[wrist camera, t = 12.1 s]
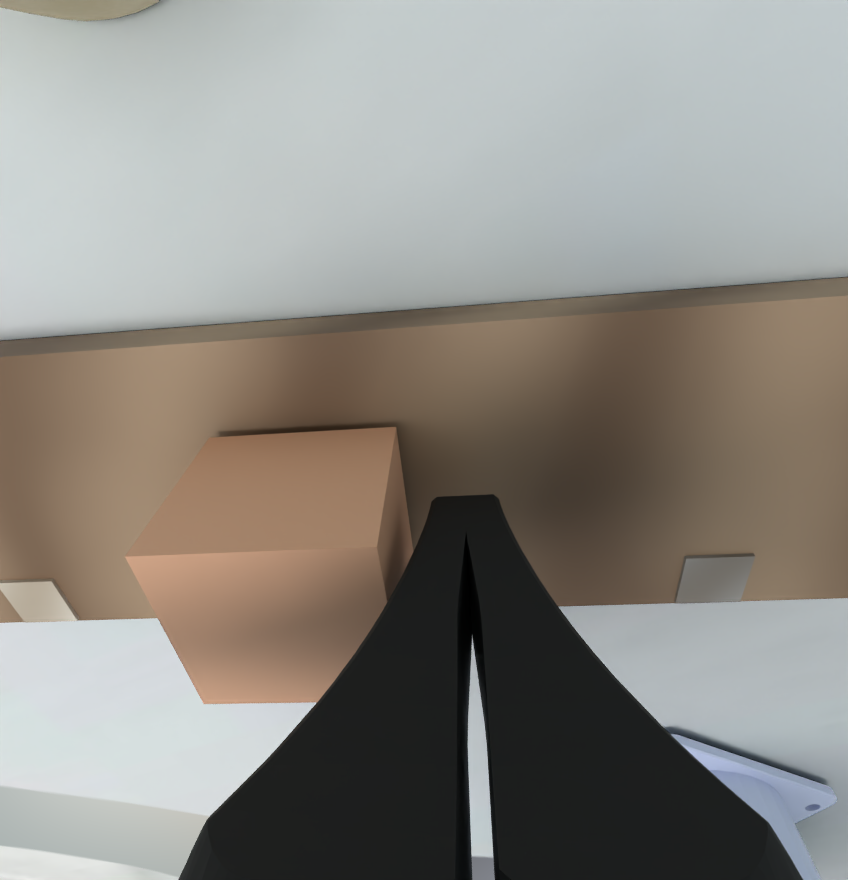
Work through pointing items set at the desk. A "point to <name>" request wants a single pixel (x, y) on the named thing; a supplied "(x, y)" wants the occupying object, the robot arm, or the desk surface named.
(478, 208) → the desk surface
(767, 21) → the desk surface
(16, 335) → the desk surface
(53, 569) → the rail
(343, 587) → the peach colored cube
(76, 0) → the candle
